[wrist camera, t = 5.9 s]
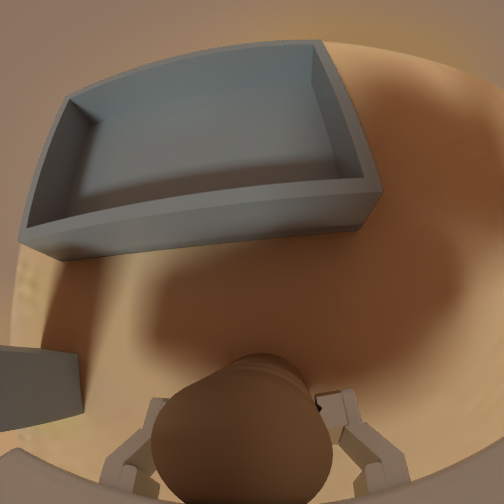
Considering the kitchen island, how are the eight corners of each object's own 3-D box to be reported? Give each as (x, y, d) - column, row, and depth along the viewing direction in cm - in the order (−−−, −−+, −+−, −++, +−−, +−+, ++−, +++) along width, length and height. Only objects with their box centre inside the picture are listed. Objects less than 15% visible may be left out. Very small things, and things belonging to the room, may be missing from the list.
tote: (317, 85, 21) (321, 39, 16) (358, 230, 17) (383, 191, 12) (90, 127, 22) (65, 96, 17) (61, 261, 18) (17, 241, 13)
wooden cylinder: (302, 349, 15) (329, 367, 6) (307, 430, 14) (331, 516, 5) (214, 355, 15) (141, 374, 7) (221, 434, 14) (165, 514, 5)
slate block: (77, 353, 16) (-39, 346, 7) (83, 413, 15) (-25, 435, 5) (40, 348, 16) (-62, 335, 7) (45, 401, 15) (-53, 410, 6)
